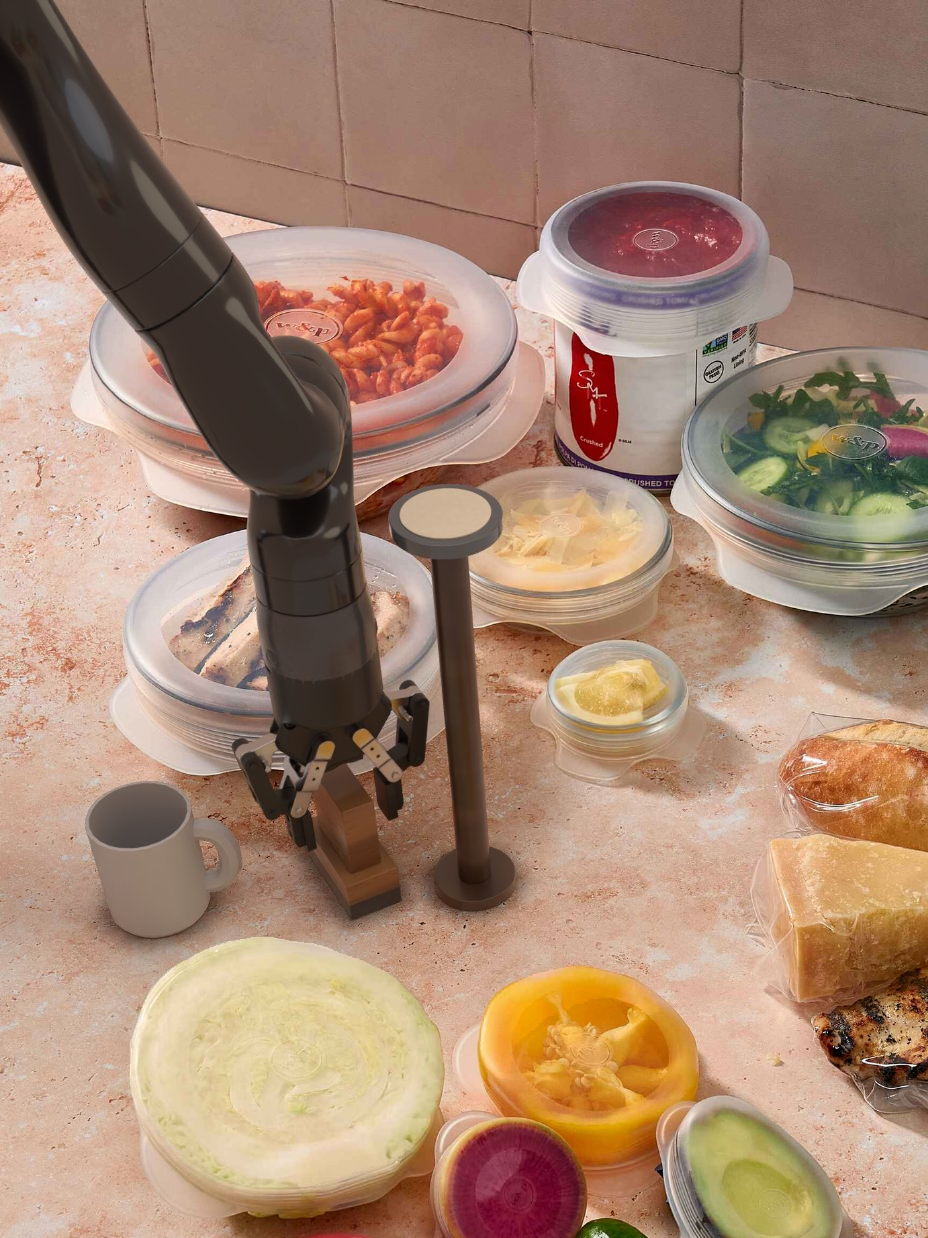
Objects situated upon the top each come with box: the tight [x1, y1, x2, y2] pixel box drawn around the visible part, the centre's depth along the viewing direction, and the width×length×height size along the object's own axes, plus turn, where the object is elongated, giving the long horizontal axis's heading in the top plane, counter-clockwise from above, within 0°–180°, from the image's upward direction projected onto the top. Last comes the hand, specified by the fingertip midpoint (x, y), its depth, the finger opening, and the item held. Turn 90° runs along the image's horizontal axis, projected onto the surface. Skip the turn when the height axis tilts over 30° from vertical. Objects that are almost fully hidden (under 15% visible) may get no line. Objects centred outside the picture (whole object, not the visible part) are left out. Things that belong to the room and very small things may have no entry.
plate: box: [387, 483, 504, 560], centre depth 102 cm, size 7×7×1 cm
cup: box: [84, 780, 243, 939], centre depth 119 cm, size 7×10×9 cm
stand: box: [429, 556, 517, 912], centre depth 113 cm, size 6×6×31 cm
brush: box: [308, 763, 403, 921], centre depth 121 cm, size 8×4×10 cm, turn 31°
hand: (347, 827), depth 121 cm, fingers open, 5 cm apart
